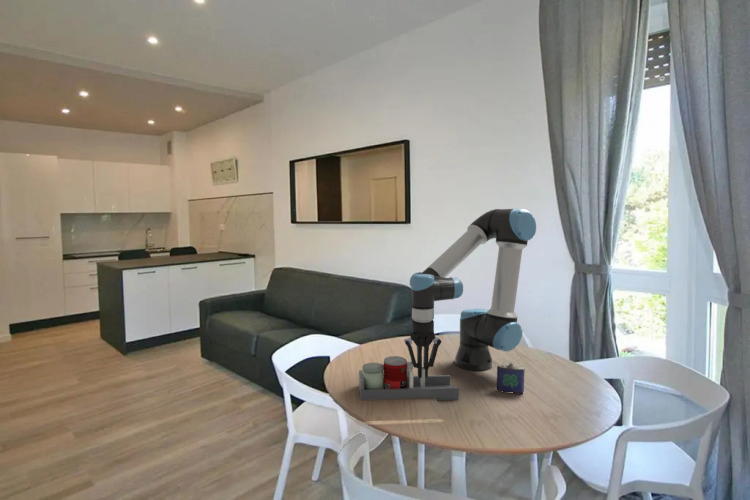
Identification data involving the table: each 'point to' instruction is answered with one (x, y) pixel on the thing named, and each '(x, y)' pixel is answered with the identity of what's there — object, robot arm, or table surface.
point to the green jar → (373, 376)
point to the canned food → (395, 372)
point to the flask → (510, 378)
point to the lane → (413, 389)
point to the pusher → (409, 375)
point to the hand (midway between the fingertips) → (422, 386)
